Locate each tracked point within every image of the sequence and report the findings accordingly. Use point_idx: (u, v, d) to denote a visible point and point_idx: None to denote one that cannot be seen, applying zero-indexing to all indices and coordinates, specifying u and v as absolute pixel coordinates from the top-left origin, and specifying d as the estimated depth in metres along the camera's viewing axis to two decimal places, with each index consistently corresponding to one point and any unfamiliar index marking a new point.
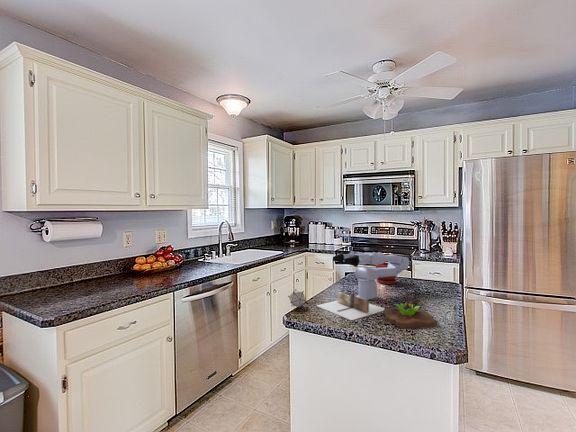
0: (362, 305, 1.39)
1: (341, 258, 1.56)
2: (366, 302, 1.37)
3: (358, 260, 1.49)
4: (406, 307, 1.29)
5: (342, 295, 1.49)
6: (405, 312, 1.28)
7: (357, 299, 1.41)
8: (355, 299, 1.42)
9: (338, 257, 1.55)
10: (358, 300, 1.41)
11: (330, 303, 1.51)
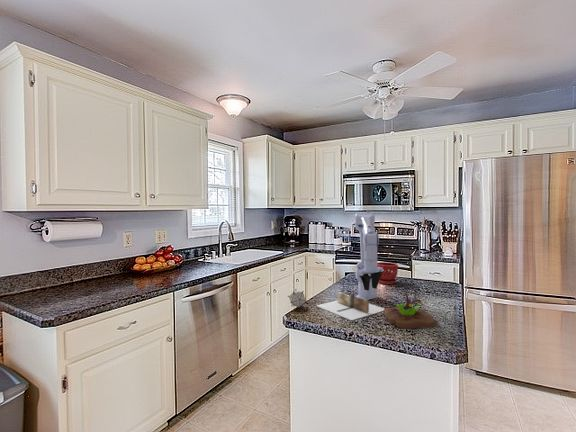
0: (362, 305, 1.39)
1: None
2: (366, 302, 1.37)
3: None
4: (406, 307, 1.29)
5: (342, 295, 1.49)
6: (405, 312, 1.28)
7: (357, 299, 1.41)
8: (355, 299, 1.42)
9: None
10: (358, 300, 1.41)
11: (330, 303, 1.51)
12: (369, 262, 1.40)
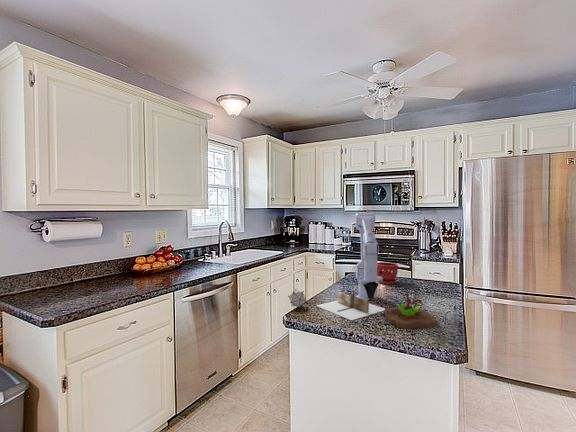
0: (362, 305, 1.39)
1: None
2: (366, 302, 1.37)
3: None
4: (406, 307, 1.29)
5: (342, 295, 1.49)
6: (405, 312, 1.27)
7: (357, 299, 1.41)
8: (355, 299, 1.42)
9: None
10: (358, 300, 1.41)
11: (330, 303, 1.51)
12: (369, 271, 1.40)
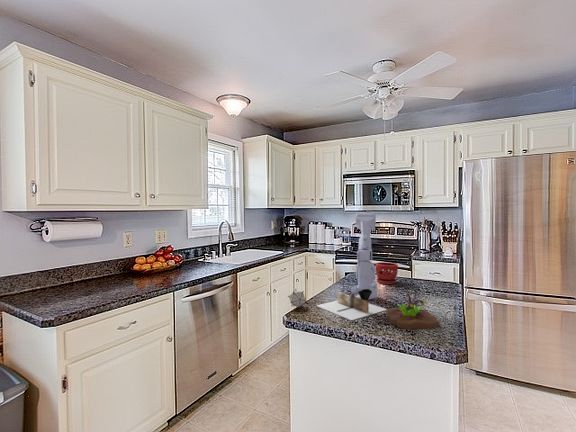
0: (362, 305, 1.39)
1: None
2: (366, 302, 1.37)
3: None
4: (408, 308, 1.28)
5: (342, 295, 1.49)
6: (407, 313, 1.27)
7: (357, 299, 1.41)
8: (355, 299, 1.42)
9: None
10: (357, 300, 1.41)
11: (330, 303, 1.51)
12: (363, 279, 1.37)
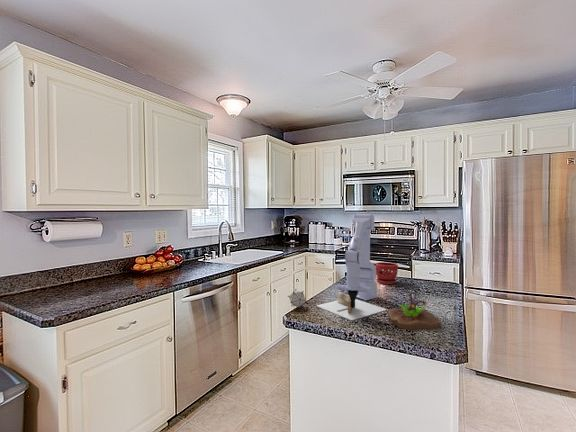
0: None
1: None
2: (348, 302, 1.36)
3: (357, 292, 1.37)
4: (410, 308, 1.28)
5: (342, 295, 1.49)
6: (408, 313, 1.26)
7: None
8: None
9: (354, 300, 1.38)
10: None
11: (330, 303, 1.51)
12: (347, 278, 1.38)
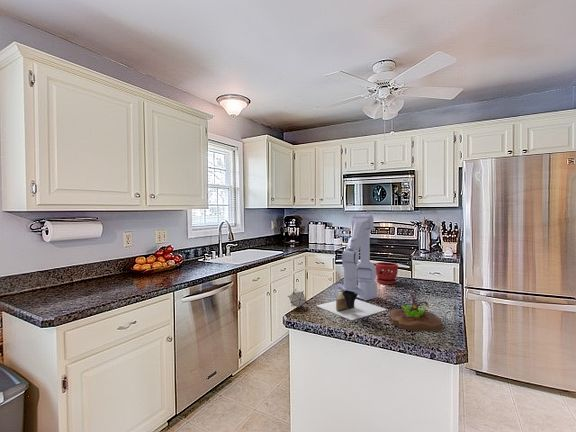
0: None
1: None
2: None
3: (354, 294, 1.35)
4: (412, 309, 1.27)
5: (342, 295, 1.49)
6: (410, 314, 1.26)
7: None
8: None
9: None
10: None
11: (330, 303, 1.51)
12: None
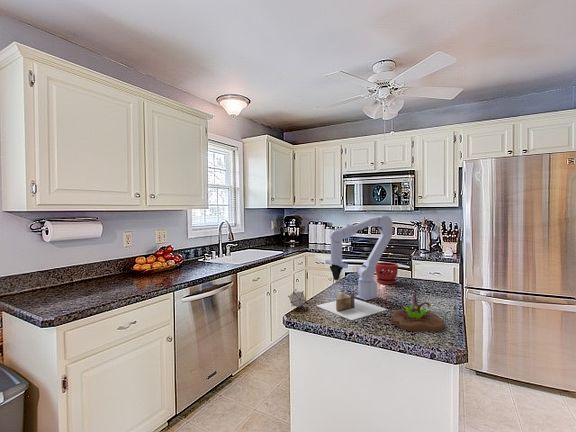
0: None
1: None
2: None
3: (339, 267, 1.58)
4: (413, 310, 1.26)
5: (342, 295, 1.49)
6: (412, 315, 1.25)
7: None
8: None
9: None
10: None
11: (330, 303, 1.51)
12: None
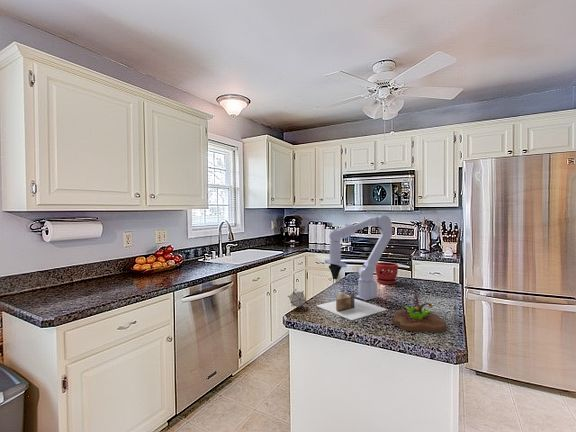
0: None
1: None
2: None
3: (338, 266, 1.60)
4: (415, 310, 1.25)
5: (342, 295, 1.49)
6: (413, 315, 1.24)
7: None
8: None
9: None
10: None
11: (330, 303, 1.51)
12: None
